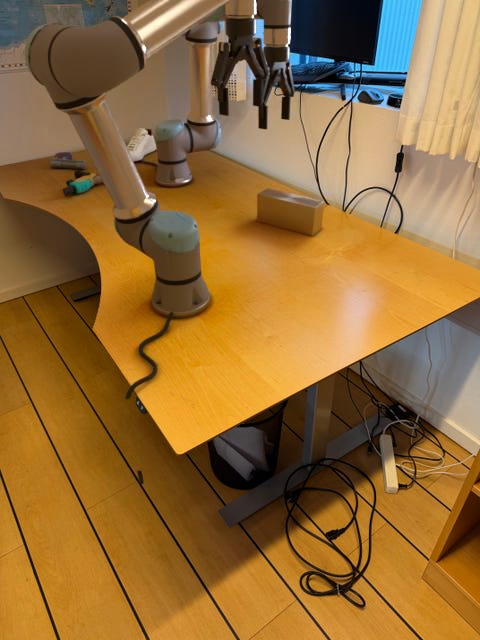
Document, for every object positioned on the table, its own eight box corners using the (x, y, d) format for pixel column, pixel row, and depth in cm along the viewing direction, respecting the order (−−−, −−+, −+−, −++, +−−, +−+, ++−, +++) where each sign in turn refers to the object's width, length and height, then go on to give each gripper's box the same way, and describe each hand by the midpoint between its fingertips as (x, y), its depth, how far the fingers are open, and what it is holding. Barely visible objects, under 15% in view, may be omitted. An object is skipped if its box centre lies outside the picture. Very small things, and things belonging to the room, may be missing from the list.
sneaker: (112, 165, 217) (107, 137, 210) (140, 147, 239) (137, 122, 232) (133, 167, 215) (128, 139, 207) (159, 148, 237) (156, 123, 230)
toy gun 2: (40, 183, 186) (69, 189, 180) (86, 165, 204) (114, 170, 199) (43, 194, 188) (72, 201, 183) (88, 175, 207) (115, 180, 201)
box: (321, 228, 161) (324, 201, 155) (312, 236, 156) (314, 207, 151) (266, 214, 171) (267, 188, 165) (256, 221, 166) (257, 194, 161)
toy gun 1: (98, 160, 223) (83, 171, 211) (61, 158, 226) (45, 169, 214) (96, 152, 220) (81, 162, 208) (59, 150, 223) (43, 160, 212)
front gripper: (261, 13, 125) (260, 100, 137) (192, 19, 110) (198, 116, 122) (284, 14, 121) (280, 104, 133) (216, 20, 106) (219, 121, 118)
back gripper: (286, 40, 145) (284, 114, 158) (241, 49, 129) (242, 131, 141) (308, 41, 142) (304, 117, 154) (264, 51, 125) (263, 134, 138)
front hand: (241, 110), depth 128 cm, fingers open, 13 cm apart
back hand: (274, 124), depth 148 cm, fingers open, 13 cm apart
